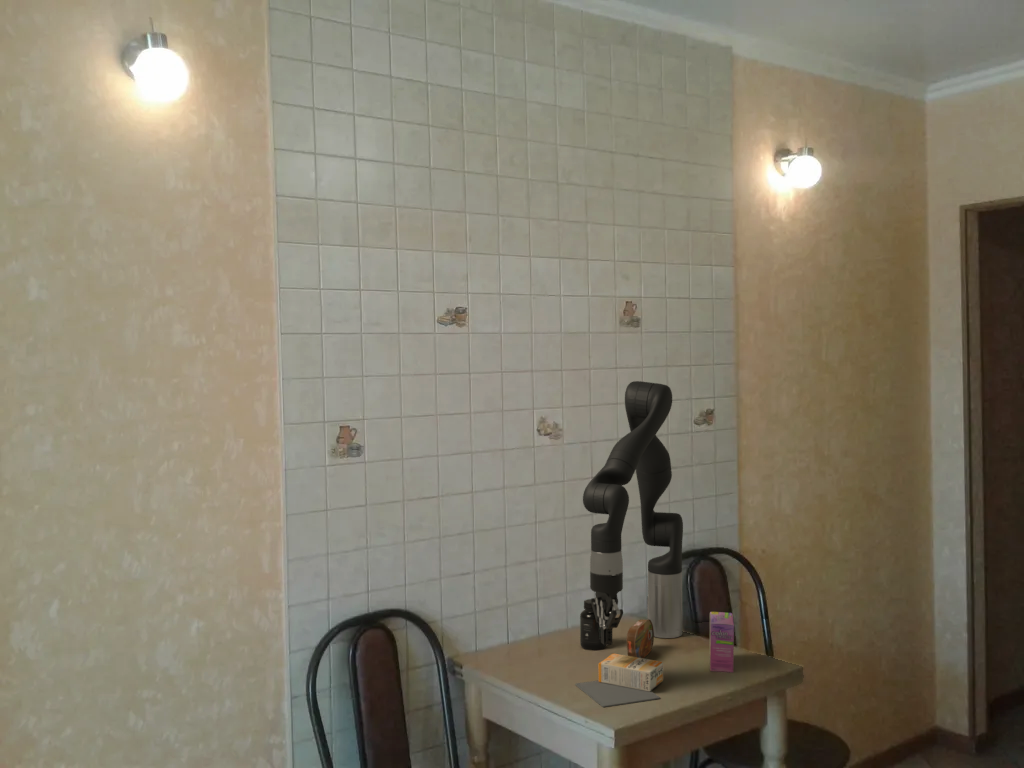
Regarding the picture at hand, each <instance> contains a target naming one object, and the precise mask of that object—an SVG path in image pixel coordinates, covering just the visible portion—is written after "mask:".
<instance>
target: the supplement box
mask: <svg viewBox="0 0 1024 768" xmlns="http://www.w3.org/2000/svg"><path fill="white" fill-rule="evenodd" d="M597 667H598V668H597V669H598V670H597V671H598V672H597V673H598V680H599V682H602V683H607V684H613V685H618V686H623V687H628V688H633V689H638V690H644V691H649V692H650V691H653V690H654V689H655V688H656V687H658V686H659V685H660V684H661V683H663V681H664V662H663V661H660V660H655V659H654V660H653V659H649V658H644V659H643V658H637V657H631V656H628V655H625V654H617V653H611V654H610V655H609V656H607V657H606V658H605V659H603V660H602V661H600V662H598V665H597Z"/></svg>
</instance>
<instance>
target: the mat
mask: <svg viewBox="0 0 1024 768" xmlns="http://www.w3.org/2000/svg"><path fill="white" fill-rule="evenodd" d="M574 685H575V686H576V687H577V688H578V689H580V690H581V692H583V693H584V694H586V695H587V696H588V697H590V698H591V699H592V700H593V701H594V702H595V703H597V704H598V705H599V704H600V707H602V708H608V707H609V706H610V707H615V706H622V705H629V704H635V703H641V702H647V701H655V700H660V699H661V697H660V696H659V695H657V694H656V693H654V692H653V690H651V691H650V692H649V691H644V690H638V689H633V688H628V687H623V686H618V685H613V684H607V683H602V682H599V679H598V680H591V681H584V682H576V683H575V684H574Z"/></svg>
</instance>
